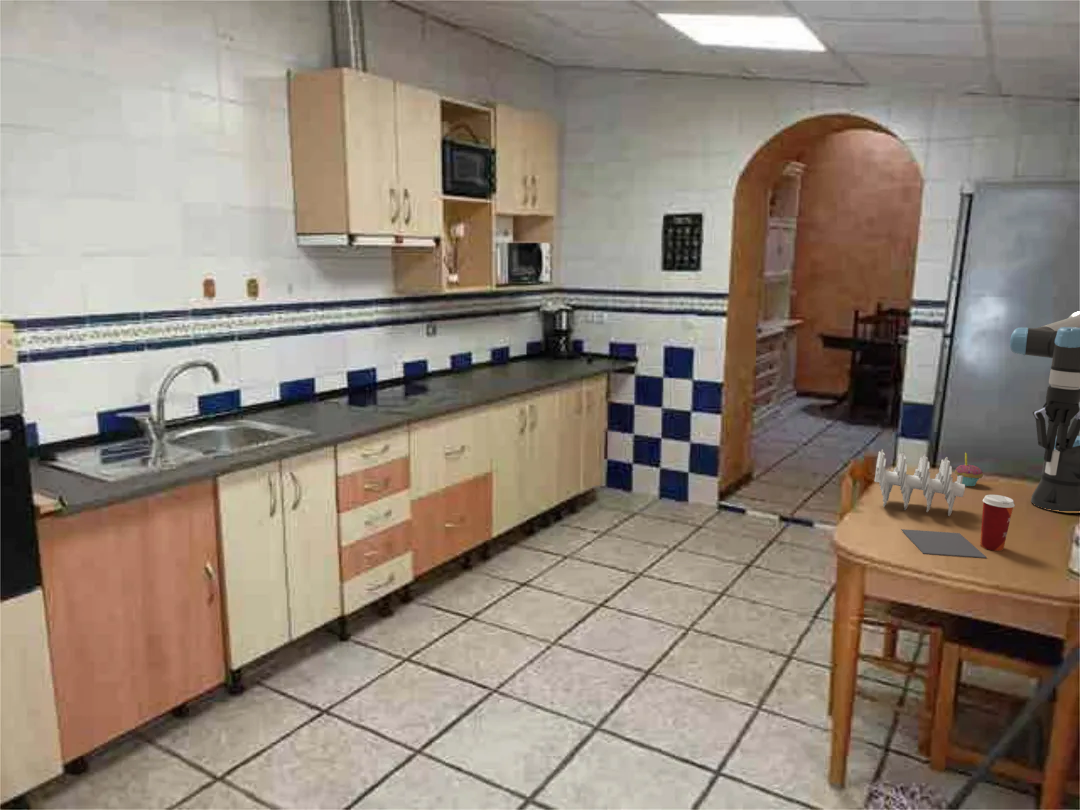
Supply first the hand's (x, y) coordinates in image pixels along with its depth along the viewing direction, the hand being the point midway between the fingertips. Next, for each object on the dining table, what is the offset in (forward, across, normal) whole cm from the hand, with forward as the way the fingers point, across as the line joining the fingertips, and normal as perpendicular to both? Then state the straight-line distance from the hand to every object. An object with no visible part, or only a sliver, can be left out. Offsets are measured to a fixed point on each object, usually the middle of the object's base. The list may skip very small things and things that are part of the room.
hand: (1050, 473), depth 213 cm
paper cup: (+22, +12, 0) cm, 25 cm away
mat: (+22, +25, 0) cm, 33 cm away
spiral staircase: (+22, +22, -30) cm, 43 cm away
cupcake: (+22, -6, -62) cm, 66 cm away
